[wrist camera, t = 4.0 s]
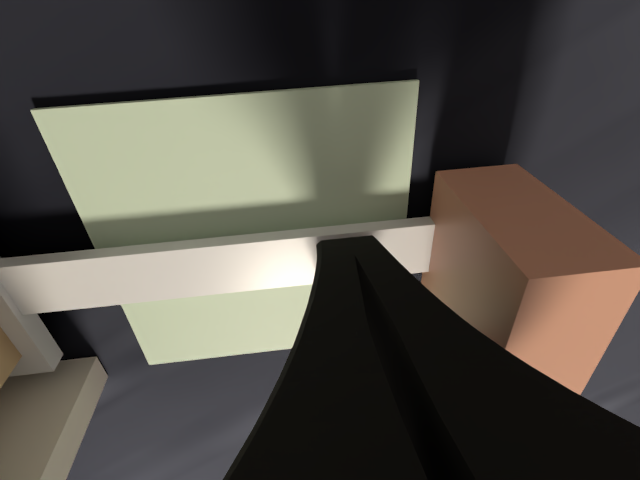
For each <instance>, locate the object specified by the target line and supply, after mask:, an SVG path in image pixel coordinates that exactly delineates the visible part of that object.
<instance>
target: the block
mask: <svg viewBox="0 0 640 480" xmlns="http://www.w3.org/2000/svg"><path fill="white" fill-rule="evenodd" d="M21 357H22V355H21V354H20V352H19V351H18V350H17V348H16V347H15V346H14V344H13V343H12V342H11V340H10V339H9V338H8V336H7V335H6V334H5V332H4V331H3V330H2V328H1V327H0V389H1V387H2V386H3V384H4V383H5V381H6V380H7V378H8V377H9V375H10V374H11V372H12V371H13V369H14V368H15V366H16V364H17V363H18V361H19V360H20V358H21Z"/></svg>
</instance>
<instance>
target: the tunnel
mask: <svg viewBox="0 0 640 480" xmlns="http://www.w3.org/2000/svg"><path fill="white" fill-rule="evenodd" d="M107 378H108V375H107V374H106V372H105V370H104V368H103V367H102V365H101V363H100V361H99V360H98V358H97V356H96V357H88V358H79V359H70V360H61V361H59V363H58V365H57V367H56V369H55V370H54V372H45V373H37V374H28V375H19V376H11V377H8V378H7V380H6V381H5V383H4V384H3V386H2V387H1V389H0V480H66V478H67V476H68V474H69V471H70V469H71V466H72V464H73V461H74V459H75V456H76V454H77V451H78V449H79V447H80V444H81V442H82V439H83V437H84V434H85V432H86V429H87V427H88V425H89V422H90V420H91V417H92V415H93V412H94V410H95V407H96V405H97V403H98V400H99V398H100V395H101V393H102V390H103V388H104V385H105V383H106V381H107Z"/></svg>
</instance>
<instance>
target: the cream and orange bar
mask: <svg viewBox="0 0 640 480" xmlns="http://www.w3.org/2000/svg"><path fill="white" fill-rule="evenodd" d="M369 235H373V236H374V237H375V238H376V239H377V240H378V241H379V242H380V243H381V244H382V245H383V246H384V247H385V248H386V249H387V250H388V251H389V252H390V253H391V254H392V255H393V256H394V257H395V258H396V259H397V260H398V261H399V262H400V263H401V264H402V265H403V266H404V267H405V268H406V269H407V270H408V271H409V272H410V273H411V274H412V273H421V272H422V279H421V283H422V284H423V285H424V286H425V287H426V288H427V289H428V290H429V291H430V292H432V293H433V294H434V295H435V296H436V297H437V298H438V299H440V300H441V301H442V302H443V303H444V304H445V305H447V306H448V307H449V308H450V309H452V310H453V311H454V312H455V313H456V314H458V315H459V316H460V317H461V318H463V319H464V320H465V321H466V322H468V323H469V324H470V325H472V326H473V327H474V328H476V329H477V330H478V331H480V332H481V333H483V334H484V335H486V336H487V337H488V338H490V339H491V340H493V341H494V342H496V343H497V344H498V345H500V346H501V347H503V348H504V349H506V350H507V351H509V352H510V353H512V354H513V355H515V356H516V357H518V358H519V359H521V360H522V361H524V362H525V363H527V364H529V365H530V366H532V367H533V368H535V369H537V370H538V371H540V372H542V373H543V374H545V375H547V376H548V377H550V378H552V379H553V380H555V381H557V382H558V383H560V384H562V385H563V386H565V387H567V388H568V389H570V390H572V391H573V392H575V393H577V394H579V395H581V393H582V391H583V389H584V388H585V386H586V384H587V382H588V380H589V379H590V377H591V375H592V373H593V372H594V370H595V368H596V366H597V364H598V363H599V361H600V359H601V357H602V356H603V354H604V352H605V350H606V348H607V347H608V345H609V343H610V341H611V340H612V338H613V336H614V334H615V332H616V331H617V329H618V327H619V325H620V324H621V322H622V320H623V318H624V316H625V315H626V313H627V311H628V309H629V307H630V306H631V304H632V302H633V300H634V299H635V297H636V295H637V293H638V291H639V290H640V256H639V255H638V254H636V253H635V252H634V251H632V250H631V249H630V248H628V247H627V246H626V245H624V244H623V243H622V242H620V241H619V240H618V239H616V238H615V237H614V236H612V235H611V234H610V233H608V232H607V231H606V230H604V229H603V228H602V227H600V226H599V225H598V224H596V223H595V222H594V221H592V220H591V219H590V218H588V217H587V216H586V215H584V214H583V213H582V212H580V211H579V210H578V209H576V208H575V207H574V206H572V205H571V204H570V203H568V202H567V201H566V200H564V199H563V198H562V197H560V196H559V195H558V194H556V193H555V192H554V191H552V190H551V189H550V188H548V187H547V186H546V185H544V184H543V183H542V182H540V181H539V180H538V179H536V178H535V177H534V176H532V175H531V174H530V173H528V172H527V171H526V170H524V169H523V168H522V167H520V166H519V165H518V164H509V165H498V166H487V167H476V168H465V169H454V170H443V171H436V173H435V180H434V188H433V195H432V203H431V211H430V216H428V217H418V218H408V219H397V220H387V221H377V222H367V223H356V224H346V225H336V226H326V227H316V228H305V229H295V230H285V231H275V232H264V233H254V234H244V235H234V236H224V237H213V238H203V239H193V240H183V241H172V242H162V243H152V244H142V245H131V246H121V247H111V248H101V249H91V250H80V251H70V252H60V253H50V254H39V255H29V256H19V257H9V258H1V257H0V327H1V328H2V330H3V331H4V332H5V334H6V335H7V336H8V338H9V339H10V340H11V342H12V343H13V344H14V346H15V347H16V348H17V350H18V351H19V352H20V354H21V355H22V357H21V358H20V360H19V361H18V363H17V364H16V366H15V368H14V369H13V371H12V372H11V374H10V375H9V377H11V376H19V375H28V374H37V373H45V372H54V370H55V369H56V367H57V365H58V363H59V361H60V360H61V358H62V356H63V353H62V351H61V350H60V348H59V346H58V345H57V343H56V342H55V340H54V339H53V337H52V336H51V334H50V333H49V331H48V329H47V328H46V326H45V325H44V323H43V322H42V320H41V319H40V317H39V316H38V314H37V313H46V312H55V311H65V310H74V309H84V308H93V307H102V306H112V305H121V304H130V303H140V302H149V301H159V300H168V299H177V298H187V297H196V296H205V295H215V294H224V293H234V292H243V291H252V290H262V289H271V288H280V287H290V286H299V285H309V284H313V280H314V275H315V269H316V262H317V251H316V245H317V244H318V243H319V242H320V241H321V240H329V239H339V238H349V237H359V236H369Z"/></svg>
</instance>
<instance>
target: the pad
mask: <svg viewBox="0 0 640 480" xmlns="http://www.w3.org/2000/svg"><path fill="white" fill-rule="evenodd" d="M418 90H419V80H417V79H415V80H401V81H388V82H375V83H362V84H349V85H335V86H322V87H309V88H296V89H282V90H269V91H256V92H243V93H229V94H216V95H203V96H190V97H177V98H163V99H150V100H137V101H124V102H110V103H97V104H84V105H71V106H57V107H44V108H34V109H32V110H30V111H31V113H32V115H33V117H34V119H35V122H36V124H37V126H38V128H39V130H40V132H41V134H42V137H43V139H44V141H45V143H46V145H47V147H48V149H49V151H50V154H51V156H52V158H53V160H54V162H55V164H56V166H57V169H58V171H59V173H60V175H61V177H62V179H63V181H64V184H65V186H66V188H67V190H68V192H69V194H70V196H71V199H72V201H73V203H74V205H75V207H76V209H77V211H78V214H79V216H80V218H81V220H82V222H83V224H84V226H85V229H86V231H87V233H88V235H89V237H90V239H91V241H92V244H93V246H94V248H95V249H101V248H111V247H121V246H131V245H142V244H152V243H162V242H172V241H183V240H193V239H203V238H213V237H224V236H234V235H244V234H254V233H264V232H275V231H285V230H295V229H305V228H316V227H326V226H336V225H346V224H356V223H367V222H377V221H387V220H397V219H407V209H408V198H409V187H410V176H411V166H412V155H413V144H414V133H415V123H416V112H417V101H418ZM311 288H312V284H309V285H299V286H290V287H280V288H271V289H262V290H252V291H243V292H234V293H224V294H215V295H205V296H196V297H187V298H177V299H168V300H159V301H149V302H140V303H130V304H121V306H122V308H123V310H124V312H125V314H126V316H127V318H128V321H129V323H130V325H131V327H132V329H133V331H134V333H135V336H136V338H137V340H138V342H139V344H140V346H141V348H142V351H143V353H144V355H145V357H146V359H147V361H148V363H149V365H153V364H162V363H171V362H179V361H188V360H196V359H205V358H213V357H222V356H231V355H239V354H248V353H256V352H265V351H274V350H282V349H291V348H292V347H293V344H294V342H295V339H296V336H297V334H298V331H299V328H300V325H301V322H302V319H303V316H304V313H305V310H306V307H307V304H308V300H309V296H310V292H311Z"/></svg>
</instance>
